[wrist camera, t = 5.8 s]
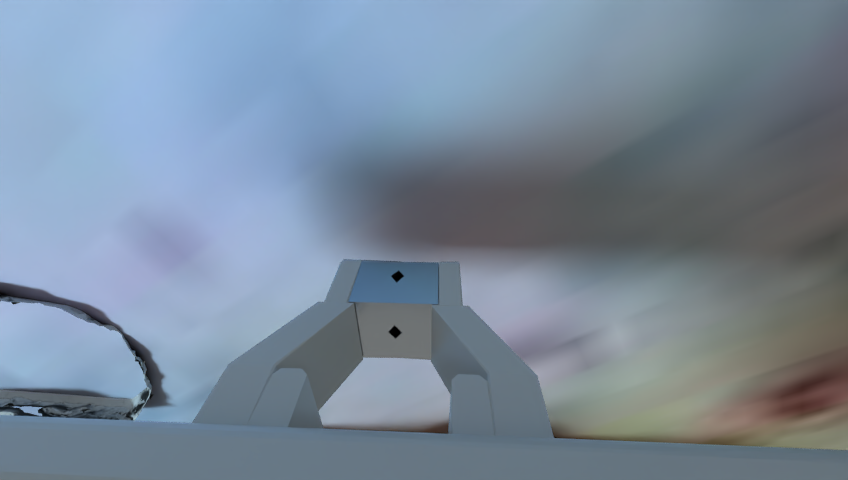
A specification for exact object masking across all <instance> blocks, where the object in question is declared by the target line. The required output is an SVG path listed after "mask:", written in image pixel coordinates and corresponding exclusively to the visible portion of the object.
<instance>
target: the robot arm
mask: <svg viewBox="0 0 848 480" xmlns="http://www.w3.org/2000/svg"><path fill="white" fill-rule="evenodd" d="M363 357H375V358H411V359H428V360H431V362H432V364H433V365H434V367H435V369H436V370H437V372H438V374H439V376H440V377H441V379H442V381H443V382H444V384H445V386H446V387H447V389H448V391H449V392H450V394H451V398H450V412H449V426H448V434H443V433H419V432H394V431H370V430H346V429H324V428H323V425H322V422H321V419H320V415H319V412H318V411H319V409H320V408H321V407H322V406H323V405H324V404H325V403H326V401H327V400H328V399H329V398H330V397H331V396H332V394H333V393H334V392H335V391H336V390H337V389H338V388H339V386H340V385H341V384H342V383H343V382H344V381H345V380H346V378H347V377H348V376H349V375H350V374H351V373H352V371H353V370H354V369H355V368H356V367H357V366H358V365H359V363H360V362H361V361H362V360H363ZM0 480H848V450H830V449H806V448H782V447H757V446H733V445H709V444H685V443H660V442H636V441H612V440H588V439H564V438H554V436H553V432H552V429H551V425H550V421H549V418H548V414H547V410H546V406H545V403H544V399H543V395H542V392H541V388H540V384H539V380H538V377H537V375H536V374H535V373H534V372H533V371H532V370H531V369H530V368H529V367H528V366H527V365H526V364H525V363H524V362H523V361H522V360H521V359H520V358H519V357H518V356H517V355H516V354H515V353H514V352H513V351H512V349H511V348H510V347H509V346H508V345H507V344H506V343H505V342H504V341H503V340H502V339H501V338H500V337H499V336H498V335H497V334H496V333H495V332H494V331H493V330H492V329H491V328H490V327H489V326H488V325H487V324H486V323H485V322H484V321H483V320H482V319H481V318H480V317H479V316H478V315H477V314H476V313H475V312H474V311H473V310H472V309H471V308H470V307H469V306H463V302H462V290H461V277H460V264H459V262H401V261H379V260H349V259H344V260H343V261H342V262H341V263H340V265H339V268H338V270H337V272H336V275H335V277H334V280H333V282H332V284H331V287H330V289H329V292H328V294H327V296H326V299H325V301H324V302H317V303H316V304H315V305H313V306H312V307H310V308H309V309H307V310H306V311H304V312H303V313H302V314H300V315H299V316H297V317H296V318H294V319H293V320H291V321H290V322H289V323H287V324H286V325H284V326H283V327H281V328H280V329H279V330H277V331H276V332H274V333H273V334H271V335H270V336H268V337H267V338H266V339H264V340H263V341H261V342H260V343H258V344H257V345H255V346H254V347H253V348H251V349H250V350H248V351H247V352H245V353H244V354H243V355H241V356H240V357H238V358H237V359H235V360H234V361H232V362H231V363H230V364H228V366H227V368H226V369H225V371H224V372H223V374H222V376H221V377H220V379H219V380H218V382H217V384H216V385H215V387H214V388H213V390H212V392H211V393H210V395H209V397H208V398H207V400H206V401H205V403H204V405H203V406H202V408H201V409H200V411H199V413H198V414H197V416H196V417H195V419H194V421H193V422H192V423H181V422H157V421H133V420H109V419H85V418H61V417H37V416H13V415H0Z"/></svg>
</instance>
